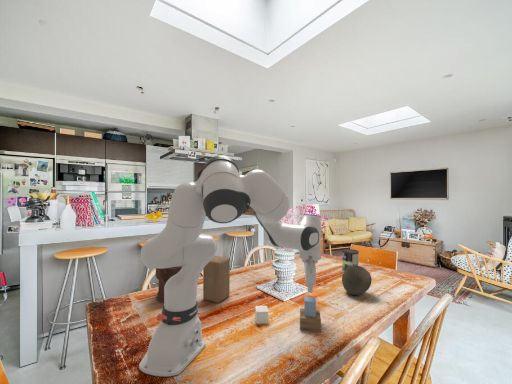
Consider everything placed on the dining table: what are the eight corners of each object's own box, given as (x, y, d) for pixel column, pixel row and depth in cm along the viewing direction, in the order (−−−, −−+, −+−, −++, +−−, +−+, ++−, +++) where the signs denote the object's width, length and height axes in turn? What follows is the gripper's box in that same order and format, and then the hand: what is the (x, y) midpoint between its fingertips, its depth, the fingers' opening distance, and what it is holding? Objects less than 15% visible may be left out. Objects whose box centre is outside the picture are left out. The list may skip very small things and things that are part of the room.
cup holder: (199, 290, 131) (199, 244, 131) (175, 312, 108) (175, 256, 108) (169, 286, 136) (169, 242, 135) (139, 307, 112) (139, 253, 112)
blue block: (315, 317, 96) (316, 302, 96) (304, 316, 97) (304, 301, 96) (315, 311, 100) (315, 297, 100) (304, 310, 101) (304, 296, 101)
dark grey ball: (352, 301, 119) (352, 271, 119) (336, 289, 133) (337, 262, 133) (376, 299, 122) (377, 269, 122) (359, 287, 136) (359, 261, 136)
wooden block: (202, 299, 121) (202, 259, 120) (214, 291, 129) (214, 254, 129) (218, 304, 116) (218, 262, 116) (230, 295, 125) (230, 257, 124)
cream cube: (268, 323, 100) (268, 311, 100) (256, 323, 99) (256, 311, 99) (266, 317, 105) (266, 305, 105) (255, 317, 104) (255, 305, 104)
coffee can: (344, 273, 159) (344, 252, 159) (340, 268, 169) (341, 248, 169) (360, 274, 158) (360, 253, 157) (356, 269, 168) (356, 249, 168)
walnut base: (320, 333, 94) (320, 320, 93) (299, 330, 95) (300, 318, 95) (319, 321, 101) (319, 310, 101) (300, 319, 103) (300, 308, 103)
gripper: (320, 261, 88) (319, 299, 88) (316, 247, 108) (315, 278, 108) (302, 260, 89) (301, 297, 89) (301, 247, 109) (301, 277, 109)
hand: (309, 287), depth 99 cm, fingers open, 8 cm apart
